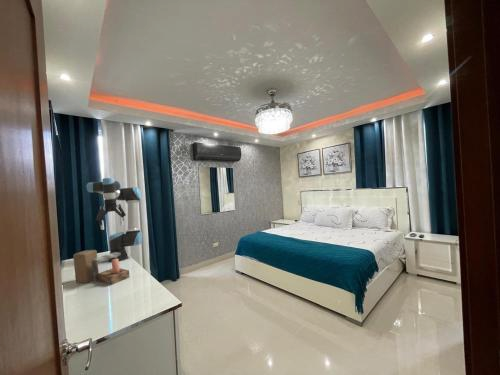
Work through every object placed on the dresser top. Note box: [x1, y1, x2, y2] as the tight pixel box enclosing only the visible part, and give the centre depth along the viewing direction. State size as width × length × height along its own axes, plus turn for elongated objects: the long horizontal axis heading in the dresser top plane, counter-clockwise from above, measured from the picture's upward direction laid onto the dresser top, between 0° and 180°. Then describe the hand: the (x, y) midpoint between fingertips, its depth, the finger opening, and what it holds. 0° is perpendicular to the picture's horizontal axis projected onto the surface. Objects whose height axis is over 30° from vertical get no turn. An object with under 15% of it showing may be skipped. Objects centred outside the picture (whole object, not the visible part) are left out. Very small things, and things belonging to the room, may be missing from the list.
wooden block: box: [73, 249, 100, 284], centre depth 156 cm, size 10×10×20 cm
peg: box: [111, 259, 120, 275], centre depth 153 cm, size 4×4×14 cm
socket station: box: [92, 252, 130, 285], centre depth 155 cm, size 16×19×16 cm
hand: (112, 227), depth 163 cm, fingers open, 13 cm apart
